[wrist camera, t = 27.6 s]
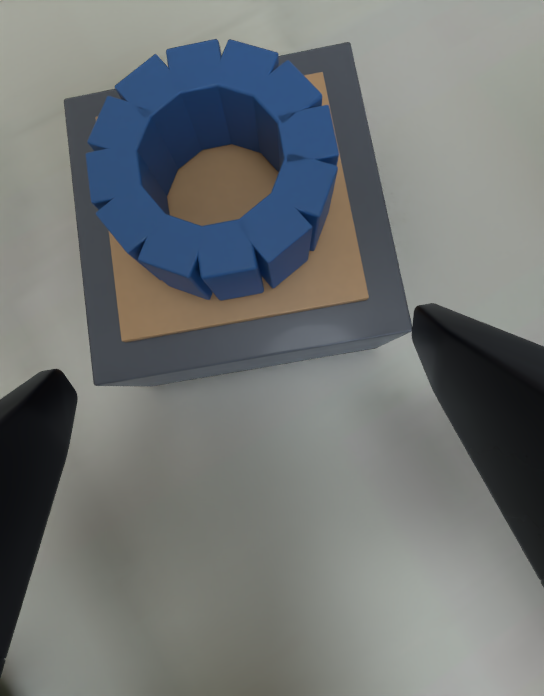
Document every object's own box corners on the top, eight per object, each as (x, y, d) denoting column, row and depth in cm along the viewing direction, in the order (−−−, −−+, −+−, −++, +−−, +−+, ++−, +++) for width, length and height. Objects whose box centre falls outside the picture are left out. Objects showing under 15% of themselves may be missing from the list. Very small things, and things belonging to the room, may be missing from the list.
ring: (307, 90, 13) (311, 17, 10) (345, 278, 12) (359, 249, 9) (116, 129, 13) (74, 66, 10) (140, 316, 12) (100, 297, 10)
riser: (377, 348, 17) (417, 329, 11) (150, 386, 17) (87, 386, 12) (334, 136, 18) (352, 32, 13) (123, 176, 18) (57, 91, 13)
